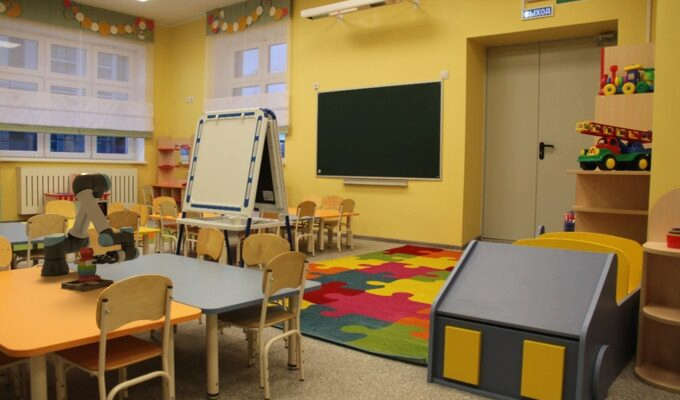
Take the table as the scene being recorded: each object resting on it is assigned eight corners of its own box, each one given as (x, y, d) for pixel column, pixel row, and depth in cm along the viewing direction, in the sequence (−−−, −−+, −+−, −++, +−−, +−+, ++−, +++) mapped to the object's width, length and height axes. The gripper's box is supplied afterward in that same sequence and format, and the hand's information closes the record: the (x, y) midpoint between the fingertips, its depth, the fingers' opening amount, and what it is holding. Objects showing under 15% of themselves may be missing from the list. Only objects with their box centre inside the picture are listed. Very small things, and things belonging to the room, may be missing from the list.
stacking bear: (102, 278, 300) (101, 245, 299) (92, 282, 290) (91, 248, 289) (83, 277, 302) (82, 245, 300) (72, 281, 291) (71, 248, 290)
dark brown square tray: (61, 287, 292) (61, 283, 292) (90, 281, 308) (90, 276, 308) (84, 291, 284) (84, 286, 284) (113, 284, 300) (113, 280, 300)
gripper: (128, 264, 307) (94, 271, 287) (101, 261, 316) (66, 268, 296) (128, 251, 306) (93, 257, 286) (101, 248, 316) (65, 254, 296)
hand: (79, 262), depth 291 cm, fingers closed on stacking bear, 9 cm apart
